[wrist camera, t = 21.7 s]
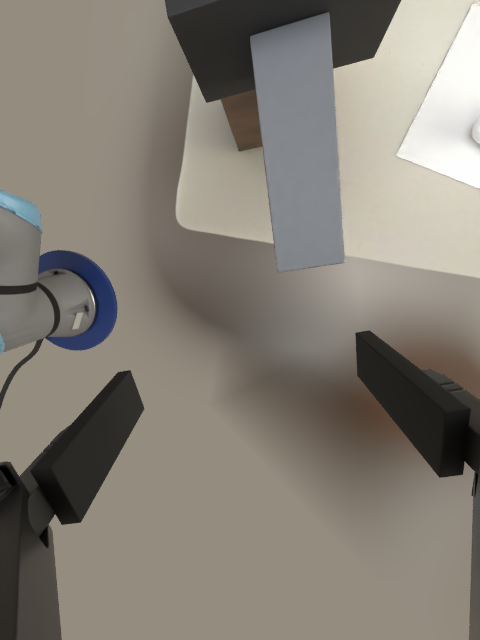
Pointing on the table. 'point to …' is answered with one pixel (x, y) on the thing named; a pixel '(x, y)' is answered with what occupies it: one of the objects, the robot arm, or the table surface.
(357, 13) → the sledgehammer head
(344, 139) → the table surface
